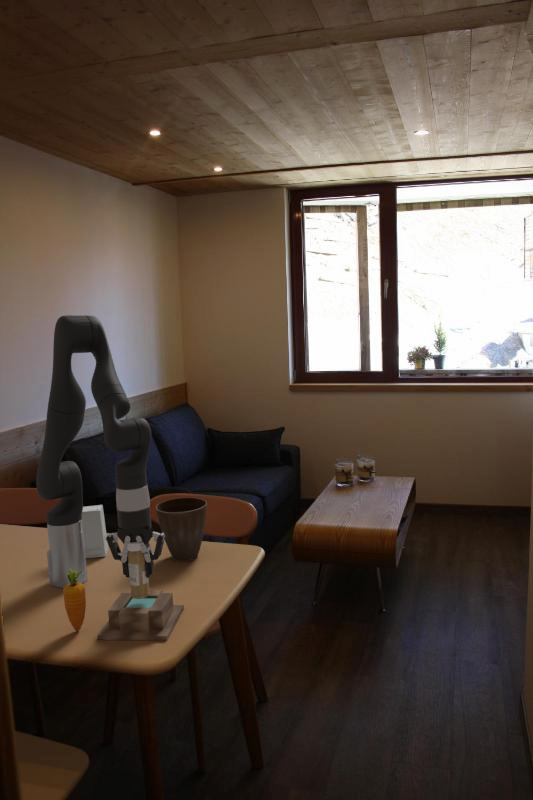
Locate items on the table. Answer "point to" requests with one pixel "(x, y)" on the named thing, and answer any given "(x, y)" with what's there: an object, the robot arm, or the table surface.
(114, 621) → the socket block
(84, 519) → the skincare box
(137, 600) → the teal square tile
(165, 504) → the plant pot
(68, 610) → the carrot
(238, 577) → the table surface
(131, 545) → the sprinkles bottle
